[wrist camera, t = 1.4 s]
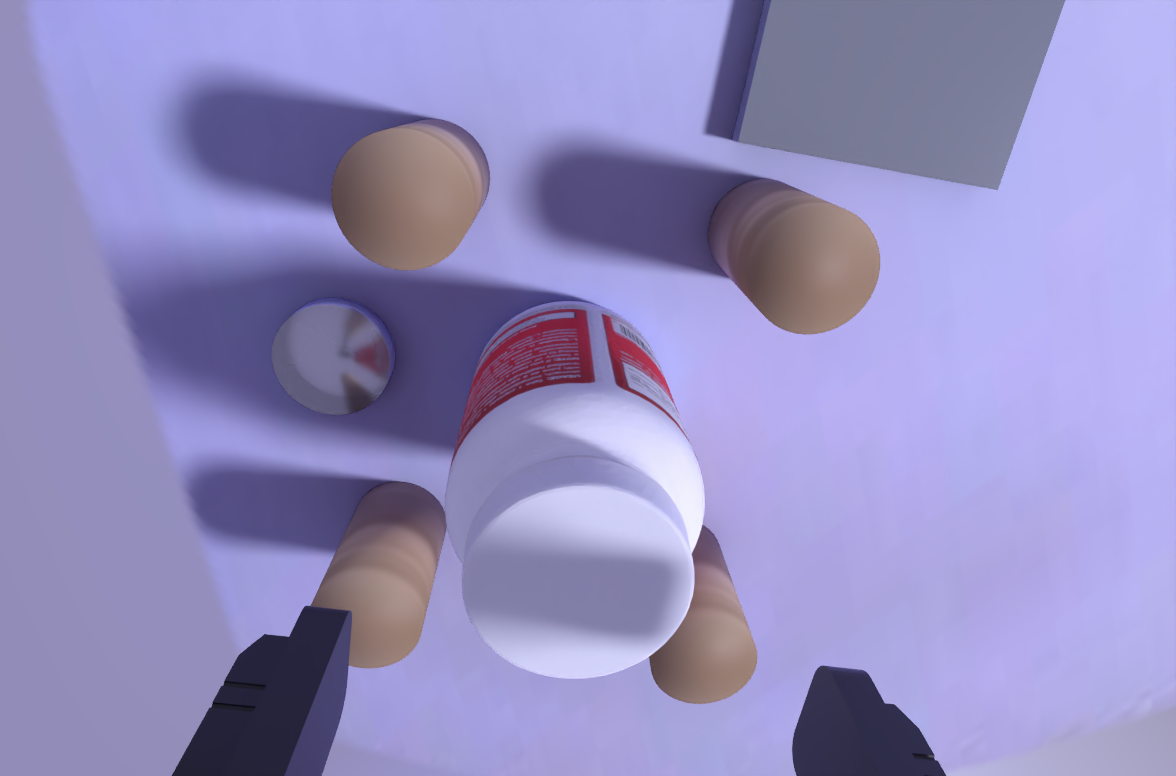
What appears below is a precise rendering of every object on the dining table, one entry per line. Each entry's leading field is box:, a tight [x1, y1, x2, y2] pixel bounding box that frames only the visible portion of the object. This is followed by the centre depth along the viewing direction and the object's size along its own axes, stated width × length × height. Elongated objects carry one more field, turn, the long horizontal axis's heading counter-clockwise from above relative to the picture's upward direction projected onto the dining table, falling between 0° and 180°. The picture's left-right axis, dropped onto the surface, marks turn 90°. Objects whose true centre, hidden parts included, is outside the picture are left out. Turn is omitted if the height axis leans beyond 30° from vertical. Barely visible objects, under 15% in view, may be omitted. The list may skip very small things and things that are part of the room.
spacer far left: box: [311, 482, 447, 668], centre depth 25 cm, size 3×3×6 cm
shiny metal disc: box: [272, 298, 395, 415], centre depth 24 cm, size 4×4×1 cm
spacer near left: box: [331, 119, 490, 270], centre depth 20 cm, size 3×3×6 cm
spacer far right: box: [649, 525, 757, 704], centre depth 26 cm, size 3×3×6 cm
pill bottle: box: [445, 301, 705, 679], centre depth 20 cm, size 6×6×11 cm
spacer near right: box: [708, 179, 880, 334], centre depth 21 cm, size 3×3×6 cm
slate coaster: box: [732, 0, 1065, 190], centre depth 21 cm, size 8×8×1 cm
